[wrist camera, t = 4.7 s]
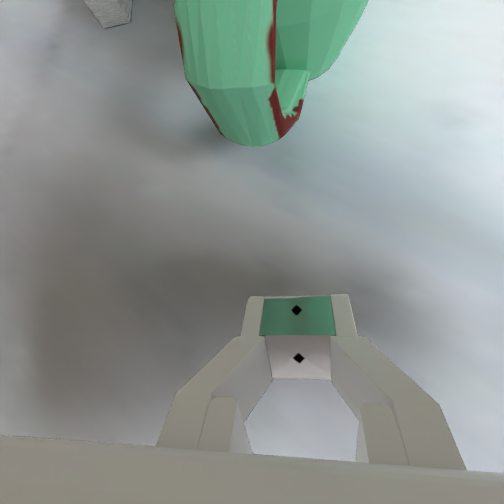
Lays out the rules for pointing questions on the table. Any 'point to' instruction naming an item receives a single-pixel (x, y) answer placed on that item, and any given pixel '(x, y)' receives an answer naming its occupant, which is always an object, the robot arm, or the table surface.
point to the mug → (259, 58)
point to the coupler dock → (111, 11)
